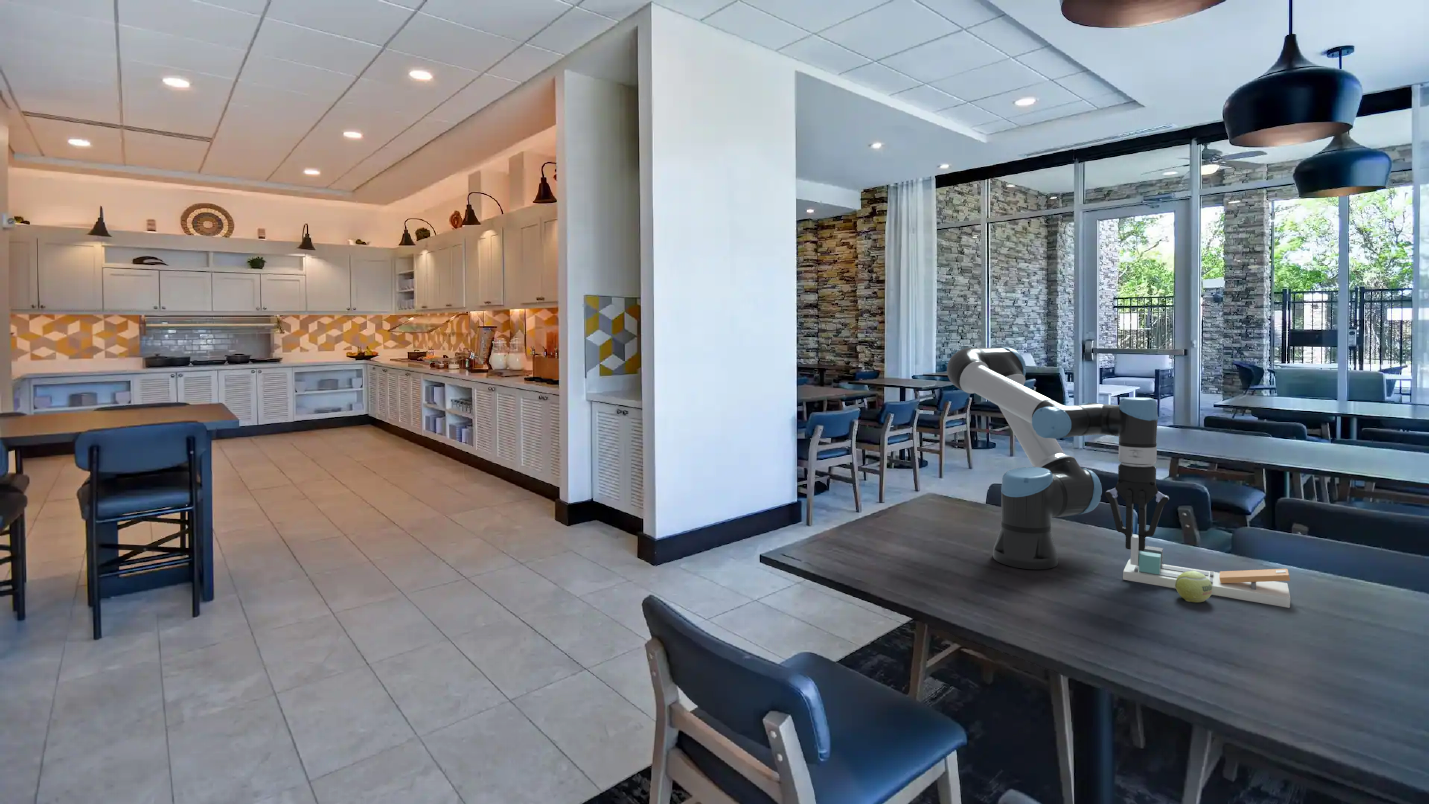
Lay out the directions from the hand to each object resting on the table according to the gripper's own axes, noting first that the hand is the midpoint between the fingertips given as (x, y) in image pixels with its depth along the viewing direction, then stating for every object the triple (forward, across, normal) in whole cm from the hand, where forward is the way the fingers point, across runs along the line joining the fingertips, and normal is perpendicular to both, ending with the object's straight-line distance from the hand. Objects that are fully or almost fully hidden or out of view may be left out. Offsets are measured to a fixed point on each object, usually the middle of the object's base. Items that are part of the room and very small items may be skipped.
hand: (1134, 563), depth 160 cm
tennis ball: (+4, +12, -8) cm, 15 cm away
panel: (+4, +13, +4) cm, 14 cm away
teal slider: (+1, +3, 0) cm, 3 cm away
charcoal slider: (+1, +3, +6) cm, 7 cm away
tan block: (0, +22, +3) cm, 22 cm away
